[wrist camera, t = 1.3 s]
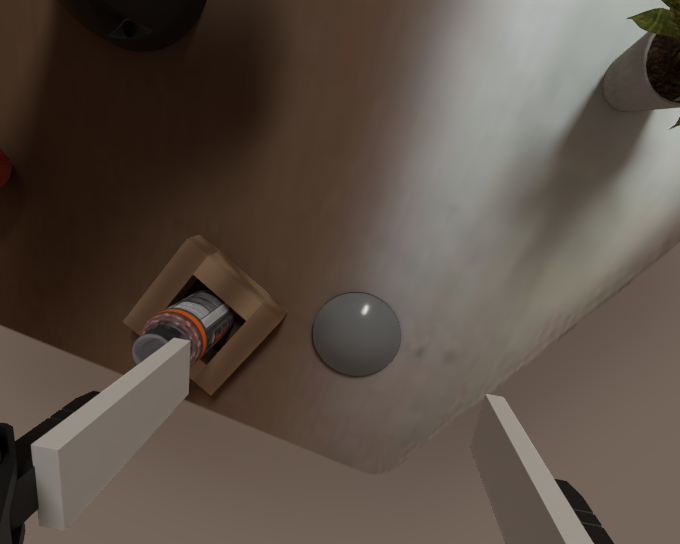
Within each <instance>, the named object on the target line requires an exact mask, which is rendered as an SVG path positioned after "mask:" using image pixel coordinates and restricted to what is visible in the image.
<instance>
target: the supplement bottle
mask: <svg viewBox="0 0 680 544" xmlns="http://www.w3.org/2000/svg"><path fill="white" fill-rule="evenodd" d="M234 313H235V312H234V310H233V309H232V308H231V307H230V306H229V305H227V304H226V303H225V302H224V301H223V300H222V299H221V298H219V297H218V296H217V295H216V294H215V293H214V292H213V291H211V290H210V289H206V290H201V291H198V292H196V293H194V294H192V295H190V296H188V297H187V298H185V299H183V300H181V301H179V302H177V303H176V304H174V305H172V306H170V307H169V308H167V309H165V310H163V311H161V312H160V313H158V314H156V315H155V316H153V317H152V318H151V319H150V320H149V321H148V322H147V323H146V325H145V326H144V328H143V331H142V336H140V337H139V338H138V339H137V340H136V341H135V342H134V345H133V348H132V354H133V358H134V361H135V363H136V364H137V365H138V364H140V363H141V362H142V361H144V360H145V359H146V358H148V357H149V356H150V355H152V354H153V353H154V352H156V351H157V350H158V349H160V348H161V347H162V346H164V345H165V344H166V343H168V342H169V341H170V340H172V339H173V338H179V339H184V340H190V366H192V365H193V364H194V363H196V362H197V361H198V360H199V359H200V358H201V357H202V356H203V355H204V354H205V353H206V352H207V351H209V349H211V348H212V347H213V346H214V345H215V344H216V343H217V342H218V341H219V340H220V339H221V338H222V337H223V336H224V335H225V334H226V333H227V332H228V331H229V330H230V328H231V327H232V325H233V322H234V317H235V315H234Z"/></svg>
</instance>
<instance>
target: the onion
mask: <svg viewBox="0 0 680 544" xmlns="http://www.w3.org/2000/svg"><path fill="white" fill-rule="evenodd" d="M11 170H12V165H11V163H10V161H9V159H8V158H7V157H6V155H5V154H4V153H3V152H2V150H1V149H0V187H2V186H3V185H4V184H5V183H6V182H7V181H8V180H9V177H10V174H11Z"/></svg>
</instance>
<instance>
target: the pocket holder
mask: <svg viewBox="0 0 680 544" xmlns="http://www.w3.org/2000/svg"><path fill="white" fill-rule="evenodd" d="M197 279H199V280H200V281H201V282H202V283H203V284H205V285H206V286H207V287H208V288H209V289H210V290H211V291H213V292H214V293H215V294H216V295H217V296H218V297H219V298H221V299H222V300H223V301H224V302H225V303H226V304H227V305H229V306H230V307H231V308H232V309H233V310H234V311H236V312H237V313H238V314H239V315H240V316H241V317H242V318H244V319H245V320H246V322H245V323H244V324H243V325H242V326H241V327H240V329H239V330H238V331H237V332H236V333H235V334H234V335H233V336H232V337H231V339H230V340H229V341H228V342H227V343H226V344H225V345H224V346H223V347H222V349H221V350H220V351H219V352H218V353H217V352H216V351H215V350H214V349H213V348H211V349H209V351H207V352H206V353H205V354H204V355H203V356H202V357H201V358H200V359H199V360H198V361H197V362H196V363H194V364H193V365H192V366H190V368H189V378H190V379H191V380H193V381H194V382H195V383H196V384H197V385H199V386H200V387H201V388H202V389H203V390H205V391H206V392H207V393H208V394H209V395H212V394H213V393H214V392H215V391H216V390H217V389H218V388H219V387H220V386H221V385H222V384H223V382H224V381H225V380H226V379H227V378H228V377H229V376H230V375H231V374H232V373H233V372H234V371H235V370H236V369H237V368H238V366H239V365H240V364H241V363H242V362H243V361H244V360H245V359H246V358H247V357H248V356H249V355H250V354H251V353H252V352H253V350H254V349H255V348H256V347H257V346H258V345H259V344H260V343H261V342H262V341H263V340H264V339H265V338H266V337H267V336H268V334H269V333H270V332H271V331H272V330H273V329H274V328H275V327H276V326H277V325H278V324H279V323H280V322H281V321H282V319H283V318H284V317H285V315H286V314H287V312H288V310H286V309H285V308H284V307H283V306H282V305H281V304H280V303H279V302H277V301H276V300H275V299H274V298H273V297H272V296H271V295H270V294H268V293H267V292H266V291H265V290H264V289H263V288H262V287H261V286H259V285H258V284H257V283H256V282H255V281H254V280H253V279H251V278H250V277H249V276H248V275H247V274H246V273H245V272H244V271H242V270H241V269H240V268H239V267H238V266H237V265H236V264H235V263H233V262H232V261H231V260H230V259H229V258H228V257H227V256H226V255H224V254H223V253H222V252H221V251H220V250H219V249H218V248H216V247H215V246H214V245H213V244H212V243H211V242H210V241H209V240H207V239H206V238H205V237H204V236H203V235H198V236H194V237H190V238H187V239H186V241H185V242H184V243H183V245H182V246H181V247H180V248H179V250H178V251H177V252H176V254H175V255H174V256H173V257H172V259H171V260H170V261H169V263H168V264H167V265H166V266H165V268H164V269H163V270H162V272H161V273H160V274H159V276H158V277H157V278H156V279H155V281H154V282H153V283H152V285H151V286H150V287H149V288H148V290H147V291H146V292H145V294H144V295H143V296H142V297H141V299H140V300H139V301H138V303H137V304H136V305H135V307H134V308H133V309H132V310H131V312H130V313H129V314H128V316H127V317H126V318H125V319H124V321H123V323H125V324H126V325H127V326H128V327H129V328H131V329H132V330H133V331H134V332H135V333H137V334H138V335H139V336H142V331H143V328H144V326H145V325H146V323H147V322H148V321H149V320H150V319H151V318H152V317H153V316H155V315H156V314H158V313H160V312H161V311H163V310H165V309H167V308H169V307H170V306H172V305H174V304H176V303H177V302H179V301H180V300H181V299H182V298H183V296H184V295H185V294H186V293H187V292H188V290H189V289H190V288H191V287H192V285H193V284H194V283H195V282H196V281H197Z"/></svg>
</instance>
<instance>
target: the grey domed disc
mask: <svg viewBox="0 0 680 544" xmlns="http://www.w3.org/2000/svg"><path fill="white" fill-rule="evenodd" d="M313 341H314V345H315V348H316V350H317V352H318V354H319V356H320V357H321V358H322V360H323V361H324V362H325V363H326V364H327V365H329V366H330V367H331V368H333V369H335V370H336V371H338V372H341V373H343V374H347V375H352V376H364V375H370V374H373V373H376V372H378V371H380V370H382V369H383V368H385V367H386V366H387V365H388V364H389V363H390V362H391V361H392V360H393V359H394V357H395V356H396V354H397V352H398V350H399V347H400V342H401V330H400V325H399V322H398V319H397V317H396V315H395V313H394V312H393V310H392V309H391V308H390V307H389V306H388V305H387V304H386V303H385V302H384V301H383V300H381V299H379V298H378V297H375V296H373V295H370V294H367V293H362V292H349V293H344V294H341V295H338V296H336V297H334V298H332V299H331V300H330V301H328V302H327V303H326V304H325V305H324V306H323V307H322V308H321V310H320V311H319V313H318V315H317V317H316V319H315V322H314V325H313Z"/></svg>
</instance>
